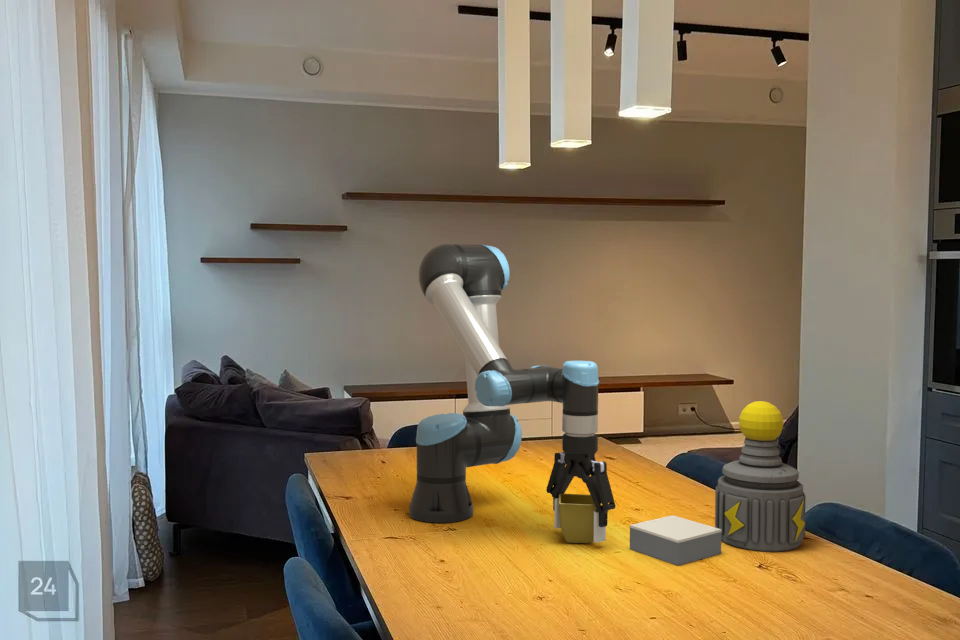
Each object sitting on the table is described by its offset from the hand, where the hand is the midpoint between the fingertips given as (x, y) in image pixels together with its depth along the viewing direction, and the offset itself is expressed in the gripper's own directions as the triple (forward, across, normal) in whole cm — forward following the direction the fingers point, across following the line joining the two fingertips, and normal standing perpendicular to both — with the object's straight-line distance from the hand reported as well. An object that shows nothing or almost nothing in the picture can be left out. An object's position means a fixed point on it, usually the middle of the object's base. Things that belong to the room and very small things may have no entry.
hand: (579, 534), depth 185 cm
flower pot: (+2, 0, 0) cm, 2 cm away
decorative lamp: (+2, -22, -32) cm, 39 cm away
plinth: (+1, -17, -11) cm, 20 cm away
